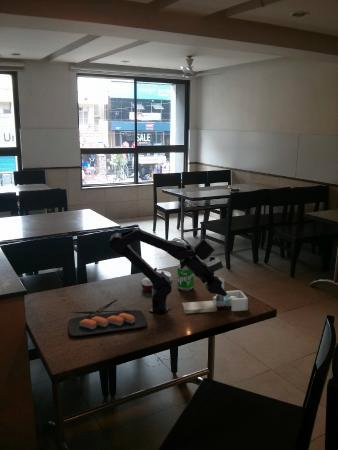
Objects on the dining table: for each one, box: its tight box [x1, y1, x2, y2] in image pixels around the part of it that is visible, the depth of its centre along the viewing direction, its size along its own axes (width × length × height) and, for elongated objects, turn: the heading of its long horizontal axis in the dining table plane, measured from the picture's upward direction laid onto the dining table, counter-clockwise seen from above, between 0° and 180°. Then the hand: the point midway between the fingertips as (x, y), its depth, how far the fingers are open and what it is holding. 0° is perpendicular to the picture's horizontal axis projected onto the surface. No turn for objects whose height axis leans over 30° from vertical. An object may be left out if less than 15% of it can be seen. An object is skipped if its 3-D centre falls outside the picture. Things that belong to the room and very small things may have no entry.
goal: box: [225, 289, 249, 312], centre depth 170 cm, size 6×9×5 cm
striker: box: [212, 277, 231, 307], centre depth 168 cm, size 6×6×11 cm
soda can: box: [177, 262, 195, 292], centre depth 188 cm, size 8×8×12 cm
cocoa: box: [140, 267, 158, 293], centre depth 185 cm, size 10×6×12 cm, turn 27°
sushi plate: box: [67, 299, 148, 337], centre depth 162 cm, size 29×30×4 cm
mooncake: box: [156, 269, 172, 282], centre depth 200 cm, size 12×12×4 cm
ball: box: [229, 296, 237, 307], centre depth 170 cm, size 4×4×4 cm
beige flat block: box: [181, 300, 218, 314], centre depth 168 cm, size 13×7×2 cm, turn 98°
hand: (223, 290), depth 168 cm, fingers open, 9 cm apart
